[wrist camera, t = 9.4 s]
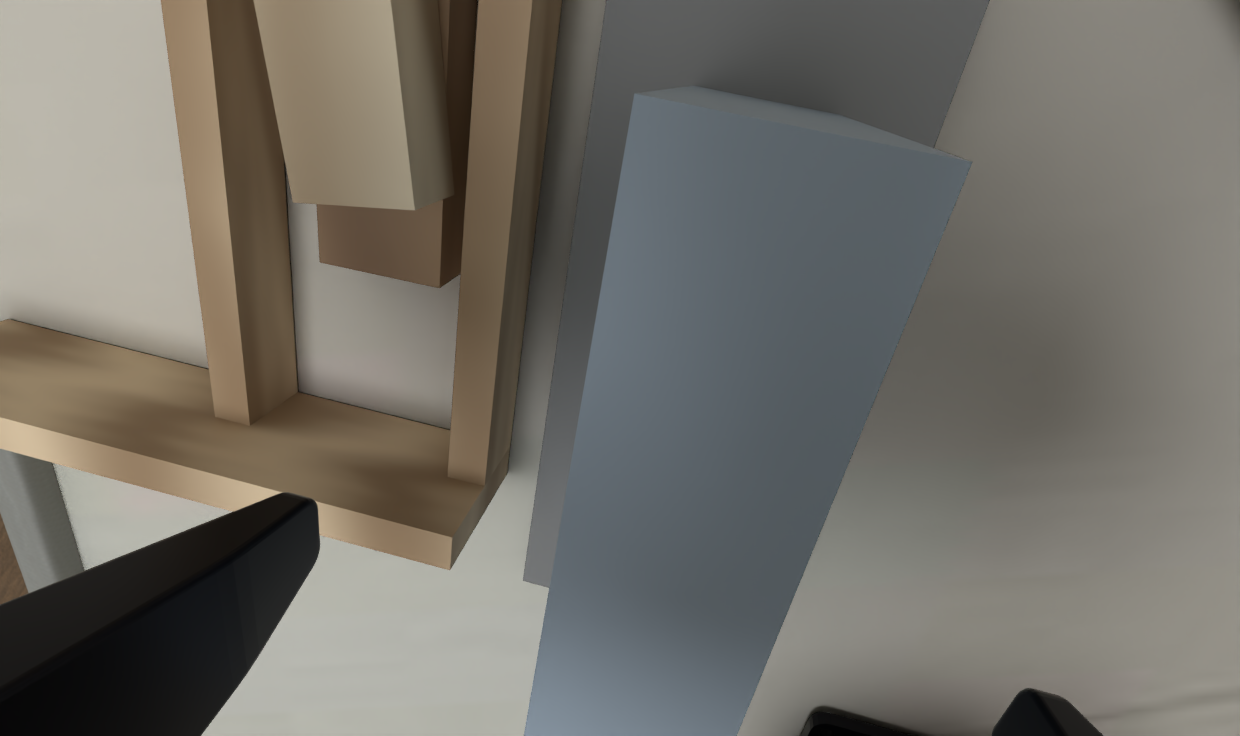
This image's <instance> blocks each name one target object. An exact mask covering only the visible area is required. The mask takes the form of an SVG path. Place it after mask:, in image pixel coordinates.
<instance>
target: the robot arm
mask: <svg viewBox="0 0 1240 736" xmlns="http://www.w3.org/2000/svg"><path fill="white" fill-rule="evenodd" d="M319 550H320V535H319V516H318V505H317V503H316V502H315V500H313V499H312V498H309V497H305V496H301V495H297V494H294V493H290V492H283V493H279V494H276V495H274V496H271V497H269V498H266V499H264V500H261V501H259V502H256V503H254V504H251V505H249V506H246V507H244V508H241V509H239V510H236V511H234V512H231V513H229V514H226V515H224V516H221V517H219V518H216V519H214V520H211V521H209V522H206V523H204V524H201V525H199V526H196V527H193V528H191V529H188V530H186V531H183V532H181V533H178V534H176V535H173V536H171V537H168V538H166V539H163V540H161V541H158V542H156V543H153V544H151V545H148V546H146V547H143V548H141V549H138V550H136V551H133V552H131V553H128V554H126V555H123V556H121V557H118V558H116V559H113V560H111V561H108V562H106V563H103V564H101V565H98V566H96V567H93V568H91V569H88V570H85V571H83V572H80V573H78V574H75V575H73V576H70V577H68V578H65V579H63V580H60V581H58V582H55V583H53V584H50V585H48V586H45V587H43V588H40V589H38V590H35V591H33V592H30V593H28V594H25V595H23V596H20V597H18V598H15V599H13V600H10V601H8V602H5V603H3V604H0V736H201V735H202V734H203V732H204V731H205V730H206V728H207V727H208V726H209V724H210V723H211V722H212V720H213V719H214V718H215V716H216V715H217V714H218V712H219V711H220V710H221V708H222V707H223V706H224V704H225V703H226V702H227V700H228V699H229V698H230V696H231V695H232V694H233V692H234V691H235V690H236V688H237V687H238V685H239V684H240V683H241V681H242V680H243V678H244V677H245V676H246V674H247V673H248V671H249V670H250V668H251V667H252V665H253V664H254V662H255V661H256V659H257V658H258V656H259V654H260V653H261V651H262V650H263V648H264V646H265V645H266V643H267V641H268V640H269V638H270V637H271V635H272V633H273V632H274V630H275V628H276V627H277V625H278V623H279V622H280V620H281V619H282V617H283V615H284V614H285V612H286V610H287V609H288V607H289V605H290V604H291V602H292V601H293V599H294V597H295V596H296V594H297V592H298V591H299V589H300V587H301V586H302V584H303V583H304V581H305V579H306V578H307V576H308V574H309V573H310V571H311V569H312V568H313V566H314V564H315V562H316V560H317V558H318V554H319ZM801 736H912V735H908V734H905V733H901V732H897V731H894V730H890V729H887V728H883V727H879V726H876V725H872V724H868V723H865V722H861V721H858V720H854V719H850V718H847V717H843V716H839V715H836V714H832V713H827V712H819V713H815V714H813V715H812V716H811V717H810V718H809V720H808V722H807V724H806V726H805V728H804V730H803V732H802V734H801ZM991 736H1103V735H1102V734H1101V733H1100V732H1099V731H1098V730H1097V729H1096V728H1095V727H1094V726H1093V725H1092V724H1091V723H1090V722H1089V721H1088V720H1087V719H1086V718H1085V717H1084V716H1083V715H1082V714H1081V713H1080V712H1079V711H1078V710H1077V709H1076V708H1075V707H1074V706H1073V705H1072V704H1071V703H1069V702H1068V701H1067V700H1066V699H1064V698H1063V697H1060V696H1058V695H1055V694H1051V693H1047V692H1043V691H1040V690H1036V689H1032V688H1026V689H1024V690H1022V691H1020V692H1019V693H1018V694H1017V695H1016V697H1015V698H1014V700H1013V701H1012V703H1011V704H1010V705H1009V707H1008V708H1007V710H1006V711H1005V713H1004V714H1003V715H1002V717H1001V718H1000V720H999V721H998V723H997V724H996V725H995V727H994V729H993V732H992V735H991Z"/></svg>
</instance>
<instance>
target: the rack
mask: <svg viewBox="0 0 1240 736" xmlns="http://www.w3.org/2000/svg"><path fill="white" fill-rule="evenodd" d="M161 5H162V13H163V20H164V28H165V36H166V43H167V51H168V59H169V66H170V74H171V82H172V89H173V97H174V105H175V113H176V120H177V128H178V136H179V143H180V151H181V159H182V166H183V174H184V182H185V189H186V197H187V205H188V212H189V220H190V228H191V236H192V243H193V251H194V259H195V266H196V274H197V282H198V289H199V297H200V305H201V312H202V320H203V328H204V335H205V343H206V351H207V358H208V366H209V370H208V369H204V368H200V367H196V366H192V365H188V364H184V363H181V362H177V361H173V360H169V359H165V358H161V357H157V356H153V355H149V354H145V353H141V352H137V351H133V350H129V349H125V348H121V347H117V346H113V345H109V344H105V343H101V342H97V341H93V340H89V339H85V338H81V337H77V336H73V335H69V334H65V333H61V332H57V331H53V330H49V329H45V328H41V327H38V326H34V325H30V324H26V323H22V322H18V321H14V320H10V319H7V320H4V321H1V322H0V449H4V450H8V451H11V452H15V453H19V454H22V455H26V456H30V457H33V458H37V459H41V460H45V461H48V462H52V463H56V464H59V465H63V466H67V467H70V468H74V469H78V470H81V471H85V472H89V473H93V474H96V475H100V476H104V477H107V478H111V479H115V480H118V481H122V482H126V483H130V484H133V485H137V486H141V487H144V488H148V489H152V490H155V491H159V492H163V493H166V494H170V495H174V496H178V497H181V498H185V499H189V500H192V501H196V502H200V503H203V504H207V505H211V506H214V507H218V508H222V509H226V510H229V511H233V512H234V511H236V510H239V509H241V508H244V507H246V506H249V505H251V504H254V503H256V502H259V501H261V500H264V499H266V498H269V497H271V496H274V495H276V494H279V493H283V492H290V493H294V494H297V495H301V496H305V497H309V498H312V499H313V500H315V502H316V503H317V505H318V516H319V535H322V536H325V537H329V538H333V539H336V540H340V541H344V542H348V543H351V544H355V545H359V546H362V547H366V548H370V549H373V550H377V551H381V552H384V553H388V554H392V555H396V556H399V557H403V558H407V559H410V560H414V561H418V562H421V563H425V564H429V565H432V566H436V567H440V568H444V569H447V570H450V569H451V568H452V566H453V564H454V563H455V561H456V559H457V557H458V556H459V554H460V552H461V551H462V549H463V547H464V546H465V544H466V542H467V541H468V539H469V537H470V536H471V534H472V532H473V530H474V529H475V527H476V525H477V524H478V522H479V520H480V519H481V517H482V515H483V514H484V512H485V510H486V508H487V507H488V505H489V503H490V502H491V500H492V498H493V497H494V495H495V493H496V492H497V490H498V488H499V487H500V485H501V483H502V481H503V480H504V478H505V476H506V475H507V469H508V461H509V452H510V444H511V435H512V426H513V418H514V409H515V401H516V392H517V384H518V375H519V366H520V358H521V349H522V341H523V332H524V324H525V315H526V306H527V298H528V289H529V281H530V272H531V264H532V255H533V246H534V238H535V229H536V221H537V212H538V204H539V195H540V186H541V178H542V169H543V161H544V152H545V144H546V135H547V126H548V118H549V109H550V101H551V92H552V84H553V75H554V66H555V58H556V49H557V41H558V32H559V24H560V15H561V6H562V0H479V1H478V16H477V31H476V47H475V62H474V77H473V93H472V108H471V123H470V139H469V154H468V169H467V185H466V200H465V215H464V231H463V246H462V261H461V277H460V292H459V307H458V323H457V338H456V353H455V369H454V384H453V399H452V415H451V430H447V429H443V428H439V427H435V426H431V425H427V424H423V423H419V422H415V421H411V420H407V419H403V418H399V417H395V416H391V415H387V414H383V413H379V412H375V411H371V410H367V409H363V408H359V407H355V406H351V405H347V404H343V403H339V402H335V401H331V400H327V399H324V398H320V397H316V396H312V395H308V394H304V393H300V392H298V387H297V370H296V354H295V337H294V321H293V304H292V288H291V271H290V255H289V238H288V222H287V205H286V189H285V172H284V156H283V149H282V144H281V139H280V133H279V128H278V123H277V118H276V113H275V108H274V103H273V98H272V92H271V87H270V82H269V77H268V72H267V67H266V62H265V57H264V51H263V46H262V41H261V36H260V31H259V26H258V21H257V16H256V10H255V5H254V0H161Z"/></svg>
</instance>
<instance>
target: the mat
mask: <svg viewBox="0 0 1240 736" xmlns="http://www.w3.org/2000/svg"><path fill="white" fill-rule="evenodd" d="M989 1H990V0H606V6H605V13H604V20H603V27H602V34H601V41H600V48H599V55H598V62H597V69H596V76H595V83H594V90H593V97H592V104H591V111H590V118H589V125H588V132H587V139H586V146H585V153H584V159H583V166H582V173H581V180H580V187H579V194H578V201H577V208H576V215H575V222H574V229H573V236H572V243H571V250H570V257H569V264H568V271H567V278H566V285H565V292H564V299H563V305H562V312H561V319H560V326H559V333H558V340H557V347H556V354H555V361H554V368H553V375H552V382H551V389H550V396H549V403H548V410H547V417H546V424H545V431H544V438H543V445H542V451H541V458H540V465H539V472H538V479H537V486H536V493H535V500H534V507H533V514H532V521H531V528H530V535H529V542H528V549H527V556H526V563H525V570H524V577H523V581H526V582H529V583H533V584H537V585H541V586H544V587H548V588H549V587H550V581H551V576H552V570H553V564H554V558H555V552H556V546H557V541H558V535H559V529H560V523H561V517H562V512H563V506H564V500H565V494H566V488H567V482H568V477H569V471H570V465H571V459H572V453H573V448H574V442H575V436H576V430H577V424H578V418H579V413H580V407H581V401H582V395H583V389H584V384H585V378H586V372H587V366H588V360H589V355H590V349H591V343H592V337H593V331H594V325H595V320H596V314H597V308H598V302H599V296H600V291H601V285H602V279H603V273H604V267H605V261H606V256H607V250H608V244H609V238H610V232H611V227H612V221H613V215H614V209H615V203H616V197H617V192H618V186H619V180H620V174H621V168H622V163H623V157H624V151H625V145H626V139H627V134H628V128H629V122H630V116H631V110H632V104H633V99H634V93H642V92H649V91H657V90H665V89H672V88H680V87H688V86H698V87H703V88H708V89H713V90H718V91H723V92H728V93H733V94H738V95H743V96H748V97H753V98H758V99H763V100H768V101H773V102H778V103H783V104H788V105H793V106H798V107H803V108H808V109H813V110H818V111H823V112H828V113H833V114H838V115H842V116H844V117H847V118H850V119H853V120H856V121H859V122H861V123H864V124H867V125H870V126H873V127H875V128H878V129H881V130H884V131H887V132H890V133H892V134H895V135H898V136H901V137H904V138H906V139H909V140H912V141H915V142H918V143H920V144H923V145H926V146H929V147H932V148H934V146H935V143H936V141H937V138H938V135H939V133H940V130H941V127H942V125H943V122H944V120H945V117H946V114H947V112H948V109H949V106H950V104H951V101H952V98H953V96H954V93H955V91H956V88H957V85H958V83H959V80H960V77H961V75H962V72H963V69H964V67H965V64H966V62H967V59H968V56H969V54H970V51H971V48H972V46H973V43H974V40H975V38H976V35H977V33H978V30H979V27H980V25H981V22H982V19H983V17H984V14H985V11H986V9H987V6H988V4H989Z"/></svg>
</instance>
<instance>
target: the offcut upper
mask: <svg viewBox="0 0 1240 736" xmlns="http://www.w3.org/2000/svg"><path fill="white" fill-rule="evenodd" d="M254 5H255V10H256V16H257V21H258V26H259V31H260V36H261V41H262V46H263V51H264V57H265V62H266V67H267V72H268V77H269V82H270V87H271V92H272V98H273V103H274V108H275V113H276V118H277V123H278V128H279V133H280V139H281V144H282V149H283V154H284V159H285V164H286V169H287V174H288V180H289V185H290V190H291V195H292V200H293V203H308V204H323V205H339V206H354V207H370V208H385V209H400V210H417V209H420V208H422V207H425V206H427V205H430V204H432V203H435V202H437V201H440V200H442V199H445V198H447V197H450V196H453V195H454V183H453V172H452V161H451V149H450V138H449V126H448V115H447V103H446V92H445V80H444V69H443V57H442V46H441V34H440V23H439V11H438V0H254Z"/></svg>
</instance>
